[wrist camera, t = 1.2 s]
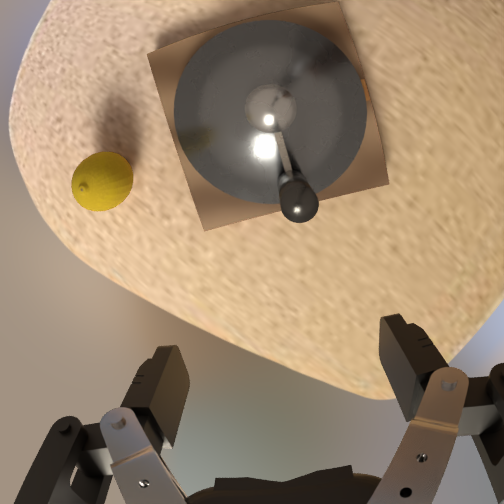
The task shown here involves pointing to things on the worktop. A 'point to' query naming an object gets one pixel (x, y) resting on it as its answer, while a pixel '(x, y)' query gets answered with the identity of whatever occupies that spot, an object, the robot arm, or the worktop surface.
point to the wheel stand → (235, 210)
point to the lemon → (102, 181)
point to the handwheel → (271, 114)
